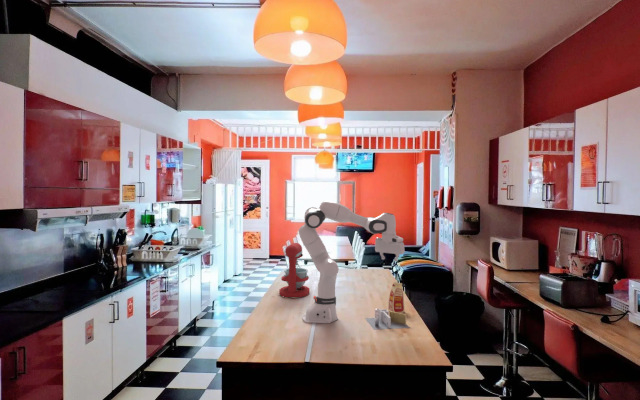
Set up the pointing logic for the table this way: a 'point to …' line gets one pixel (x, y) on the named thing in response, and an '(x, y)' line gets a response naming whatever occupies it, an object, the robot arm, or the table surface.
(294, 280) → the stand mixer
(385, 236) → the robot arm
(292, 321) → the table surface
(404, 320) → the bar
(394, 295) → the milk carton
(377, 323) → the pin
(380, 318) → the hinge base
